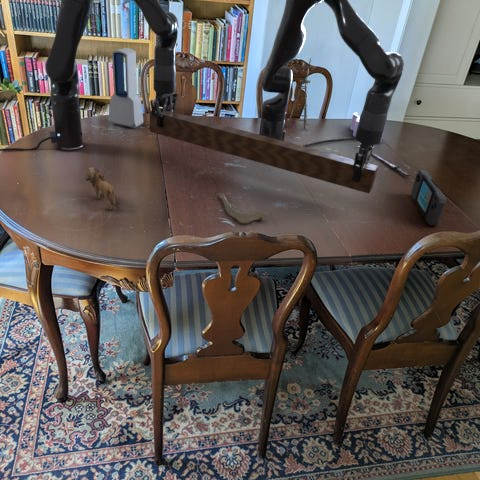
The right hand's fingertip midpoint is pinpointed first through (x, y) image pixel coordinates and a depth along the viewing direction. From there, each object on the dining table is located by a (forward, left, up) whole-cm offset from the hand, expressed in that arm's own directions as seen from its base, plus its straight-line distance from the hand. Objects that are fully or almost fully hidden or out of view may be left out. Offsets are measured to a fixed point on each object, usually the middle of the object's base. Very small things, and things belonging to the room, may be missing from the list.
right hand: (357, 178), depth 145 cm
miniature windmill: (-37, -71, -12) cm, 81 cm away
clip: (-60, -50, -12) cm, 79 cm away
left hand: (+36, -62, 0) cm, 72 cm away
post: (+18, -31, -3) cm, 36 cm away
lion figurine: (+68, -37, -12) cm, 79 cm away
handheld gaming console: (-24, +11, -12) cm, 29 cm away
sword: (-43, -24, -12) cm, 51 cm away
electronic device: (+36, -97, -12) cm, 105 cm away
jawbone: (+32, -15, -12) cm, 37 cm away
